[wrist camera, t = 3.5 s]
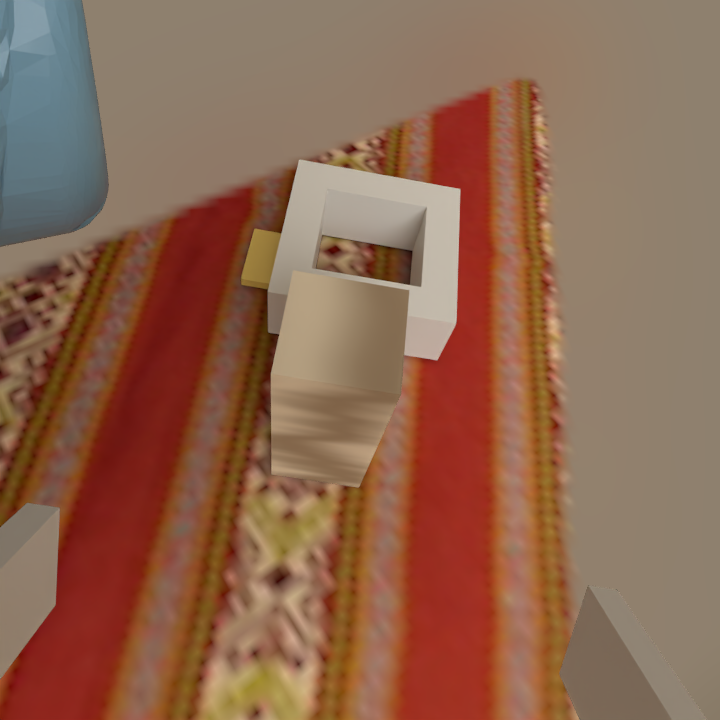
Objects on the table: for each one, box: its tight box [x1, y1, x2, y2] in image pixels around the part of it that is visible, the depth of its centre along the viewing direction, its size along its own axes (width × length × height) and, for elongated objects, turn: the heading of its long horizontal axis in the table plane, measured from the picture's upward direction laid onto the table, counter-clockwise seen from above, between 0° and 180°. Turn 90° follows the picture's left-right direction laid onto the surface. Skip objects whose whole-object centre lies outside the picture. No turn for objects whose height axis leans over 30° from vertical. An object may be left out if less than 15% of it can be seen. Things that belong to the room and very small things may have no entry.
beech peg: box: [271, 270, 409, 487], centre depth 25 cm, size 4×4×11 cm
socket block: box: [241, 160, 460, 360], centre depth 34 cm, size 12×10×4 cm
